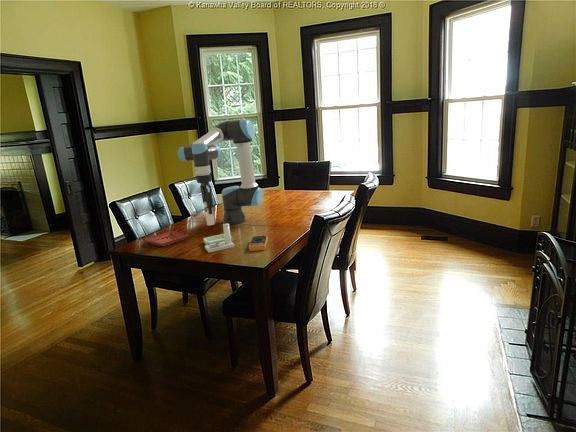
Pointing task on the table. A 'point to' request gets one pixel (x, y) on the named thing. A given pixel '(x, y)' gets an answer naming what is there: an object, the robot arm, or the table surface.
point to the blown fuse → (209, 222)
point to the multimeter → (258, 243)
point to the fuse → (227, 233)
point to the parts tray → (215, 239)
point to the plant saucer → (166, 241)
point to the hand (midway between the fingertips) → (210, 218)
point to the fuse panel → (218, 246)
